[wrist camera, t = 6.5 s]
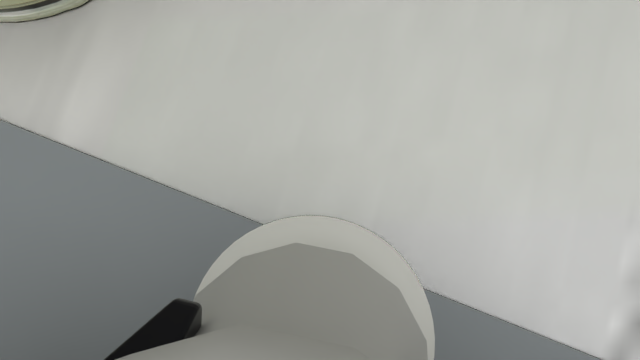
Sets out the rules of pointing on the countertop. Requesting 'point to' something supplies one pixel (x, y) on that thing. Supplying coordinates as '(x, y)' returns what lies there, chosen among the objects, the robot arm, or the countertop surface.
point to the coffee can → (34, 9)
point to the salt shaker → (299, 312)
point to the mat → (171, 260)
